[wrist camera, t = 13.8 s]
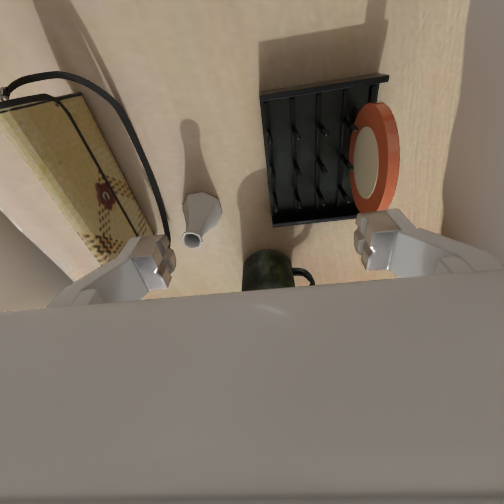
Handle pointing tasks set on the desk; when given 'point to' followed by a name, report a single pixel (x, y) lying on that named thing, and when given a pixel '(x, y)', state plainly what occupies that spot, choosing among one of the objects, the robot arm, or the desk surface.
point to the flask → (199, 217)
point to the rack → (313, 147)
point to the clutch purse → (78, 164)
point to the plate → (374, 158)
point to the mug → (270, 272)
